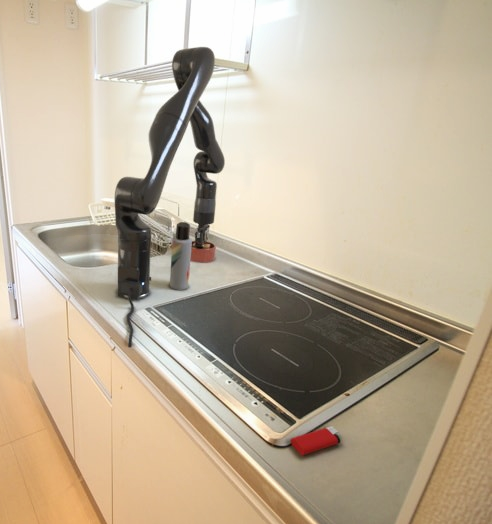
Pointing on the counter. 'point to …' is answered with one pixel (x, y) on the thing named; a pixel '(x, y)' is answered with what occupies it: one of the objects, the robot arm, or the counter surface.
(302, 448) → the lighter
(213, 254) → the bowl
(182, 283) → the lotion bottle
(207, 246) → the eraser
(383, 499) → the counter surface
